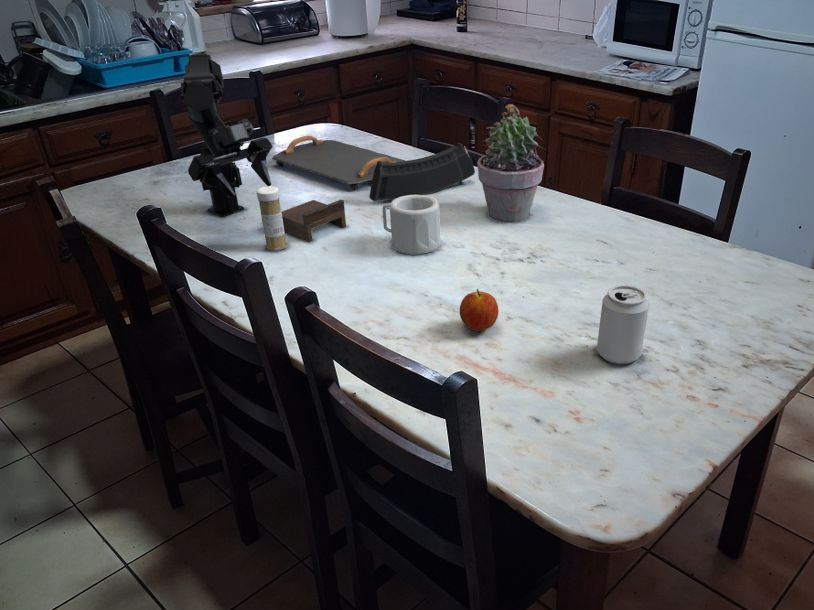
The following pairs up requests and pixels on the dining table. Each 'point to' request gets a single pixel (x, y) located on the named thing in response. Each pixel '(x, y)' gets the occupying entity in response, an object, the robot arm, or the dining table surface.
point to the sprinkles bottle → (271, 218)
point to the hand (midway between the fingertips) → (252, 191)
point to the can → (622, 324)
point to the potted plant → (510, 168)
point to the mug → (414, 224)
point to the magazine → (421, 174)
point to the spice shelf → (312, 218)
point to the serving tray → (333, 160)
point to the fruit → (479, 310)
